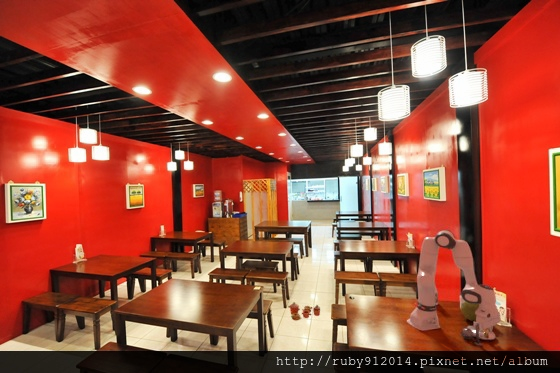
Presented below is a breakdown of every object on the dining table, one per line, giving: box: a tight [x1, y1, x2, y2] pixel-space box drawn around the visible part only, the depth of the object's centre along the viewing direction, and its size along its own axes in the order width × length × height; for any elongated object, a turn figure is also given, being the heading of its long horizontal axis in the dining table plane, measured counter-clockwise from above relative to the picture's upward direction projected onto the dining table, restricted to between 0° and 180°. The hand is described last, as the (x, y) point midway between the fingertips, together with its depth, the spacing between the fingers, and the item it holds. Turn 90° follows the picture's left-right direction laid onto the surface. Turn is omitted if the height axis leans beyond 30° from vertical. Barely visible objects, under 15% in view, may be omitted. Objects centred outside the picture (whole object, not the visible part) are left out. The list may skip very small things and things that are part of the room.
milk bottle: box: [435, 285, 439, 306], centre depth 214 cm, size 8×8×20 cm
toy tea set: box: [288, 301, 321, 322], centre depth 203 cm, size 26×16×10 cm, turn 107°
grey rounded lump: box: [460, 327, 474, 341], centre depth 165 cm, size 6×6×5 cm
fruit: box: [460, 301, 479, 322], centre depth 186 cm, size 16×14×15 cm
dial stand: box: [473, 321, 483, 347], centre depth 159 cm, size 4×4×13 cm
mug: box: [459, 294, 465, 309], centre depth 202 cm, size 12×8×10 cm
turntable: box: [466, 325, 496, 341], centre depth 168 cm, size 15×15×7 cm
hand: (489, 332), depth 162 cm, fingers closed
